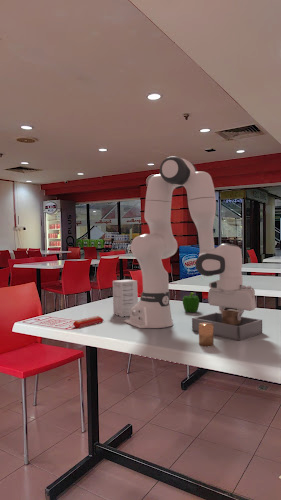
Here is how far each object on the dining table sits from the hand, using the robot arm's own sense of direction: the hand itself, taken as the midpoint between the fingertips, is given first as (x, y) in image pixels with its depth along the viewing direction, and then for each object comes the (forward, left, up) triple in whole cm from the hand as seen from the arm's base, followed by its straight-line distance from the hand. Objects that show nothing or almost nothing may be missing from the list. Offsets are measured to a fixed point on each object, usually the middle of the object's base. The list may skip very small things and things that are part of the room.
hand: (231, 319), depth 147 cm
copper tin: (+6, -23, -4) cm, 24 cm away
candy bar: (-50, -34, -5) cm, 61 cm away
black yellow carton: (-18, +24, -5) cm, 31 cm away
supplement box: (-55, -9, -5) cm, 56 cm away
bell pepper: (-36, +18, -5) cm, 41 cm away
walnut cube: (0, 0, -2) cm, 2 cm away
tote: (0, -4, -4) cm, 6 cm away
